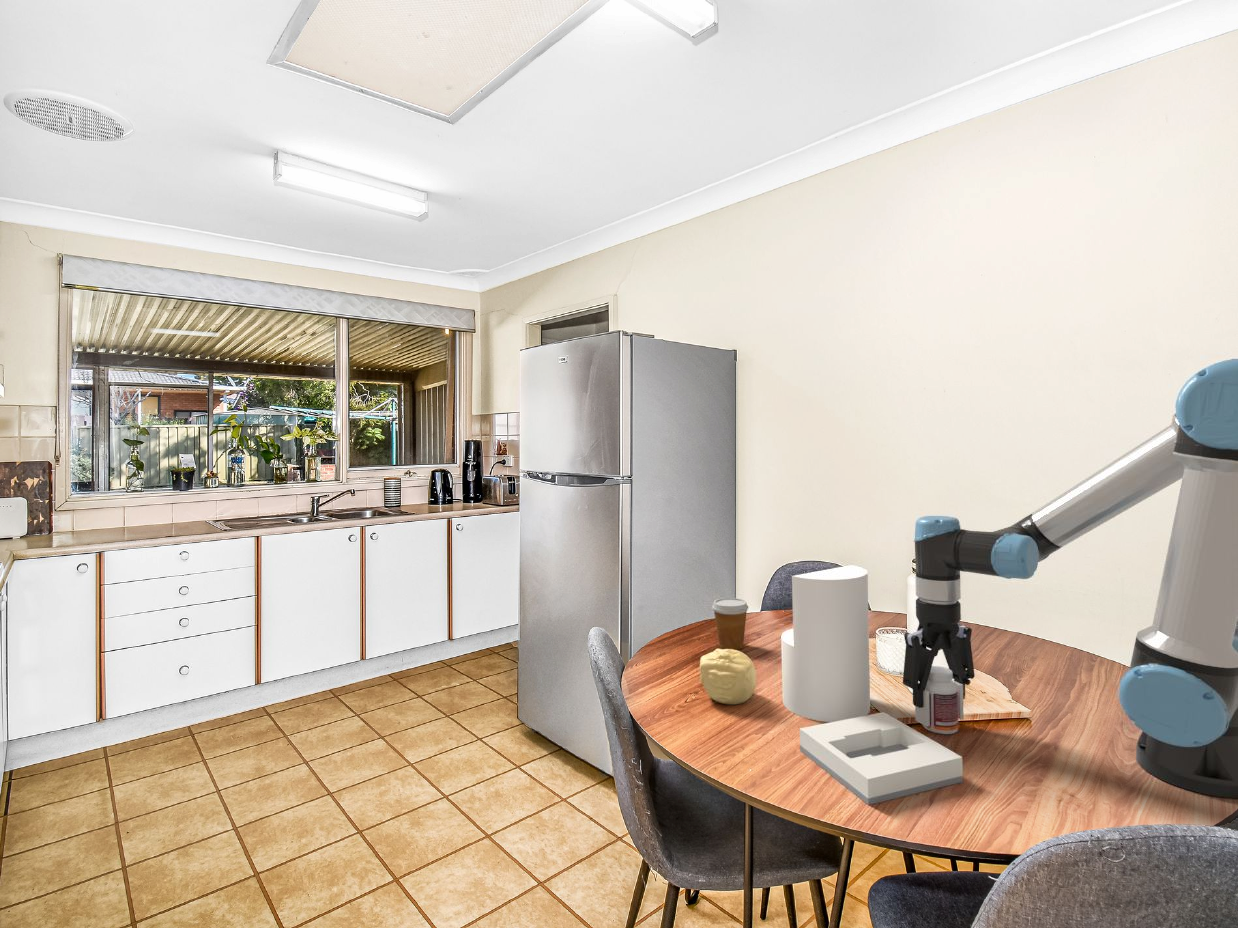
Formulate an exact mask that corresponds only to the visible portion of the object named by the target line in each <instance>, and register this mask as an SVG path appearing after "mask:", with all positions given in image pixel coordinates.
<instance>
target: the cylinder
mask: <svg viewBox="0 0 1238 928" xmlns="http://www.w3.org/2000/svg"><path fill="white" fill-rule="evenodd" d="M868 572H869V571H868V570H867V569H866V568H863V567H861V566H858V565H854V564H849V565H845V566H839V567H838V566H837V567H833V568H830V569H829V568H828V569H822V570H817V571H813V572H806V573H802V574H801V573H800V574H795V575H792V576H791V592H792V593H791V595H792V596H791V599H792V600H791V601H792V628H790V629H787V630H786V631H783V632H782V634H781V635H780V636H781V637H780V640H781V642H780V643H781V648H780V649H781V675H782V676H781V677H782V678H781V679H782V682H781V683H782V684H781V685H782V686H781V687H782V688H781V689H782V702H783V706H784V707H785V708H786V710H788V711H790V712H791V713H793V714H795V715H797V716H799V717H802V718H805V719H808V720H813V721H816V722H825V723H830V722H835V721H841V720H846V719H851V718H856V717H861V716H866V715H869V713H870V712H871V686H870V684H871V683H870V682H871V681H870V678H871V677H870V636H869V634H870V633H869V630H870V628H869V627H870V625H869V622H870V621H869V580H868V579H869V576H868V574H869V573H868Z"/></svg>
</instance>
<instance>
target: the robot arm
mask: <svg viewBox="0 0 1238 928" xmlns="http://www.w3.org/2000/svg"><path fill="white" fill-rule="evenodd" d="M1174 405H1175V407H1174V408H1175V413H1174V414H1172V420H1171V423H1170V425H1169V426H1166V427H1165V428H1163V429H1162V430H1160V431H1159V432H1158V433H1156V434H1154V435H1152V436H1151V437H1150V438H1148V439H1146V440H1145V441H1143V442H1141V443H1140V444H1138V445H1137V446H1135V447H1134V448H1132V449H1131V450H1129V451H1128V452H1126V453H1124V454H1122V455H1121V456H1120V457H1118V458H1117V459H1115V460H1113V461H1111V462H1110V463H1109V464H1107V465H1105V466H1103V467H1102V468H1101V469H1099V470H1097V471H1096V472H1094V473H1093V474H1091V475H1090V476H1089V477H1087V478H1085V479H1084V480H1082V481H1080V482H1079V483H1077V484H1075V485H1074V486H1072V487H1070V488H1069V489H1067V490H1066V491H1064V492H1063V493H1062V494H1060V495H1058V496H1056V497H1055V498H1054V499H1052V500H1050V501H1049V502H1047V503H1046V504H1044V505H1043V506H1041V507H1039V508H1038V509H1036V510H1034V512H1031V513H1030V514H1029V515H1026V516H1025V517H1023V518H1022V519H1020V520H1019V521H1016V522H1015V523H1014V524H1012V525H1010V526H1008V527H1005V528H1002V529H998V530H994V531H982V530H981V531H980V530H968V529H965V528H964V529H963V528H961V523H960V520H959V519H958V518H957V517H954V516H953V517H952V516H947V515H926V516H921V517H919V518H917V519H916V520H915V526H914V527H915V528H914V539H913V542H914V554H915V555H914V557H915V558H914V559H915V596H916V597H917V598H916V599H915V617H916V619H917V620H918V626H917V629H916V631H914V632H912V633H910V632H905V633H904V635H903V638H904V641H905V652H904V653H905V654H904V664H903V673H902V674H903V677H902V684H903V685H904V686H905V687H908V688H910V689H912V704H913V706H914V708H915V709H914V710H915V711H914V712H915V714H914V715H915V716H914V717H915V721H916V722H917V723H920V724H923V725H925V726H930V709H929V691H928V690H926V689H925V688H926V685H927V681H928V678H929V674H930V671H931V667H932V666H933V663H934V660H935V657H937V656H938V654H939V651H941V650H942V652H943V655H944V657H945V661H946V664H947V668H948V669H950V670H951V671H952V673H953V678H952V680H951V681H952V682H954V683H955V684H956V686H957V694H958V720H964V700H965V698H966V686H969V685H970V684H971V680H973V679H974V678H975V667H974V659H973V658H974V657H973V651H972V642H971V640H972V639H971V638H972V632H973V630H972V628H971V627H968V626H965V625H962V624H959V623H960V622H961V619H962V614H961V609H962V608H961V605H962V604H961V602H960V601H959V600H960V599H961V597H962V596H961V595H962V593H961V572H964V573H972V574H980V575H986V576H993V577H999V578H1005V579H1009V580H1010V579H1018V580H1019V579H1020V580H1028V579H1030V578H1032V577H1033V576H1034V575H1035V572H1036V571H1037V569H1038V565H1039V563H1041V562H1042V561H1044V560H1045V559H1047V558H1048V557H1049V556H1050V555H1052V554H1053V553H1055V552H1056V551H1058V550H1060V549H1061V548H1064V547H1065V546H1067V545H1068V544H1070V543H1072V542H1073V541H1075V540H1077V539H1079V538H1080V537H1082V536H1084V535H1085V534H1087V533H1089V532H1091V531H1093V530H1094V529H1096V528H1098V527H1100V526H1101V525H1103V524H1105V523H1106V522H1108V521H1110V520H1112V519H1114V518H1115V517H1117V516H1119V515H1121V514H1123V513H1124V512H1126V511H1127V510H1129V509H1132V508H1133V507H1135V506H1136V505H1138V504H1140V503H1141V502H1143V501H1145V500H1147V499H1148V498H1150V497H1152V496H1154V495H1155V494H1157V493H1159V492H1160V491H1161V492H1162V490H1164V489H1166V488H1168V487H1169V486H1171V485H1173V484H1175V483H1176V482H1178V481H1180V480H1181V482H1180V483H1181V484H1180V489H1179V495H1178V499H1177V504H1176V508H1175V514H1174V519H1173V523H1172V527H1171V528H1172V529H1171V533H1170V538H1169V542H1168V545H1167V546H1168V547H1167V553H1166V557H1165V561H1164V567H1163V570H1162V571H1163V572H1162V577H1161V581H1160V587H1159V592H1158V596H1157V601H1156V607H1155V609H1154V615H1153V621H1152V624H1151V626H1148V627H1146V628H1144V629H1141V630H1139V631H1137V633H1136V636H1135V643H1134V644H1133V645H1134V646H1133V651H1132V656H1131V660H1130V665H1129V670H1127V671H1126V672H1125V673H1124V674H1123V675H1122V678H1121V679H1120V681H1119V687H1118V699H1119V703H1120V706H1121V708H1122V711H1123V712H1124V714H1125V715H1126V716H1127V718H1129V719H1130V721H1131V722H1132V723H1133V724H1134V725H1135V726H1136V727H1137V728H1138V729H1139V730H1141V733H1140V736H1139V738H1138V740H1137V743H1136V747H1135V759H1136V763H1138V765H1139V766H1140V767H1141V768H1142V769H1143V770H1144V771H1146V772H1147V773H1149V774H1151V775H1152V776H1154V777H1155V778H1158V779H1159V780H1162V781H1164V782H1166V783H1168V784H1171V785H1174V786H1176V787H1179V788H1182V789H1184V790H1189V791H1191V792H1195V793H1199V794H1204V795H1209V796H1214V797H1219V798H1220V797H1221V798H1226V799H1227V798H1230V799H1238V636H1237V635H1235V632H1236V629H1237V623H1238V358H1232V359H1231V358H1230V359H1226V360H1222V361H1218V362H1217V363H1216V362H1215V363H1212V364H1210V365H1209V366H1206V367H1204V368H1203V369H1201V370H1198V372H1196V373H1194V374H1193V375H1192V376H1191V377H1190V378H1189V379H1188V380H1186V382H1185V383H1184V384H1183V385H1182V387H1181V389H1180V391H1179V392H1178V395H1177V398H1176V401H1175V404H1174ZM923 725H922V726H923Z"/></svg>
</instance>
